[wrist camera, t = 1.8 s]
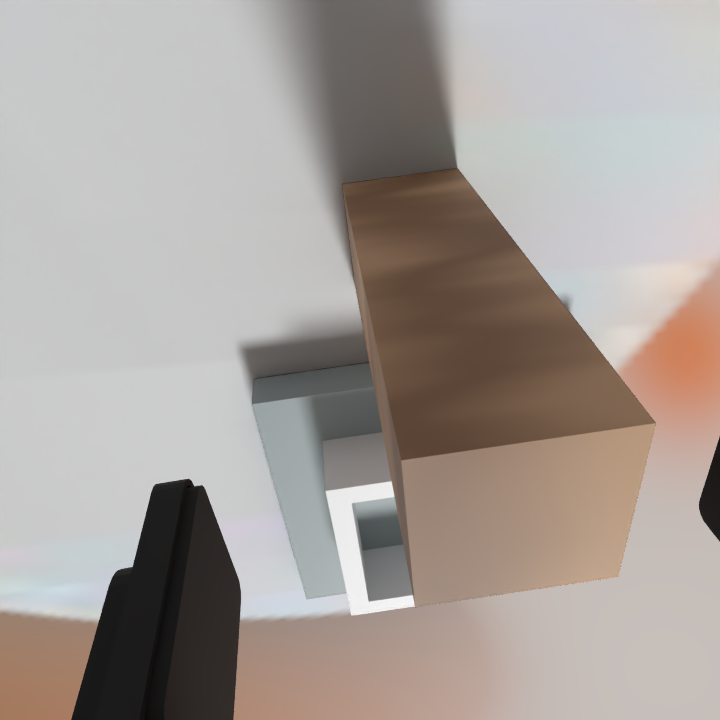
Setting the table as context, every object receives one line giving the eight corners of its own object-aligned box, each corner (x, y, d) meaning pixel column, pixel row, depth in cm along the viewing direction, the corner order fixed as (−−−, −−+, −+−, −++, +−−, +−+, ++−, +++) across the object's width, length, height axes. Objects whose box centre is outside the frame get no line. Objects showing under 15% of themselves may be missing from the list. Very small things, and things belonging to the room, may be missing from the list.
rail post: (457, 168, 18) (656, 423, 8) (459, 272, 20) (617, 576, 10) (342, 184, 18) (401, 460, 8) (355, 287, 20) (415, 607, 10)
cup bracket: (569, 333, 22) (618, 399, 19) (545, 536, 29) (577, 610, 26) (253, 378, 22) (246, 453, 18) (306, 571, 29) (307, 651, 25)
